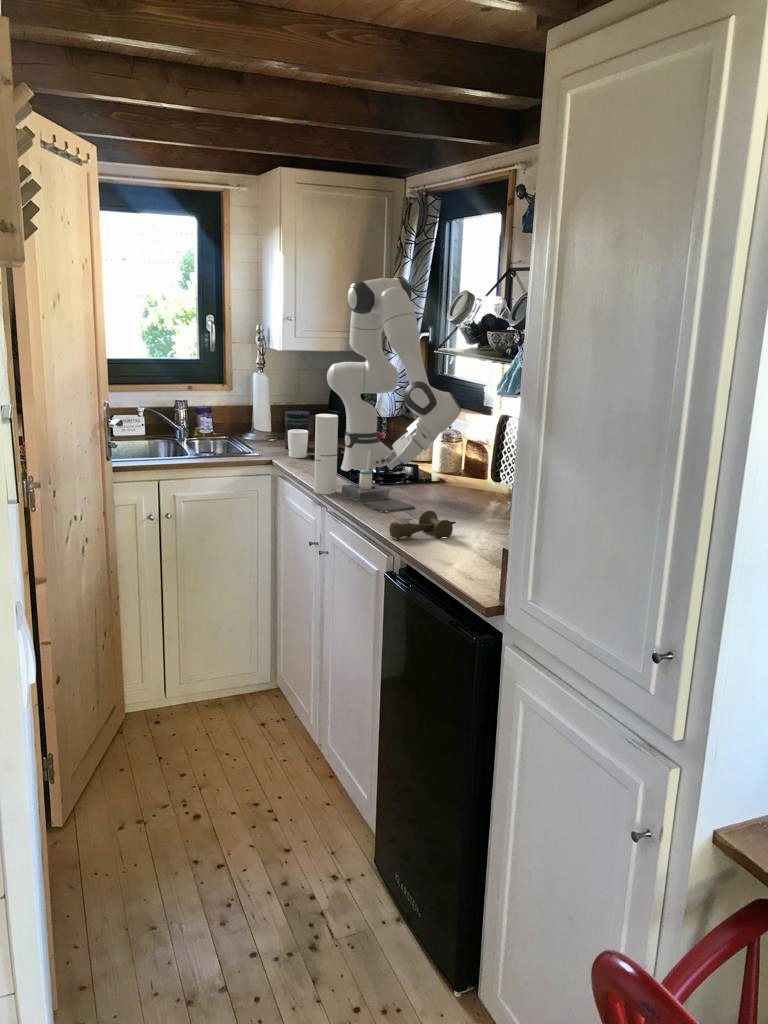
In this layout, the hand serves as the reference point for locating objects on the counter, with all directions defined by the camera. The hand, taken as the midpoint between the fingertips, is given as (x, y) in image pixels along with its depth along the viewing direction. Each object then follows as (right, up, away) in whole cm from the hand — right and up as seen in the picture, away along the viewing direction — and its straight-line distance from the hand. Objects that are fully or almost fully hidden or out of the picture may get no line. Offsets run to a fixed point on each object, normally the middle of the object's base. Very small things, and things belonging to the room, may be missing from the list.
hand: (387, 464), depth 268 cm
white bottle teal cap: (-7, -10, +2) cm, 12 cm away
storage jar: (-37, +11, +74) cm, 84 cm away
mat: (+1, -13, -9) cm, 16 cm away
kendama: (+10, -22, -37) cm, 44 cm away
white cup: (-35, +6, +60) cm, 69 cm away
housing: (-7, -10, +2) cm, 12 cm away
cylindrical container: (-20, -9, +6) cm, 23 cm away
